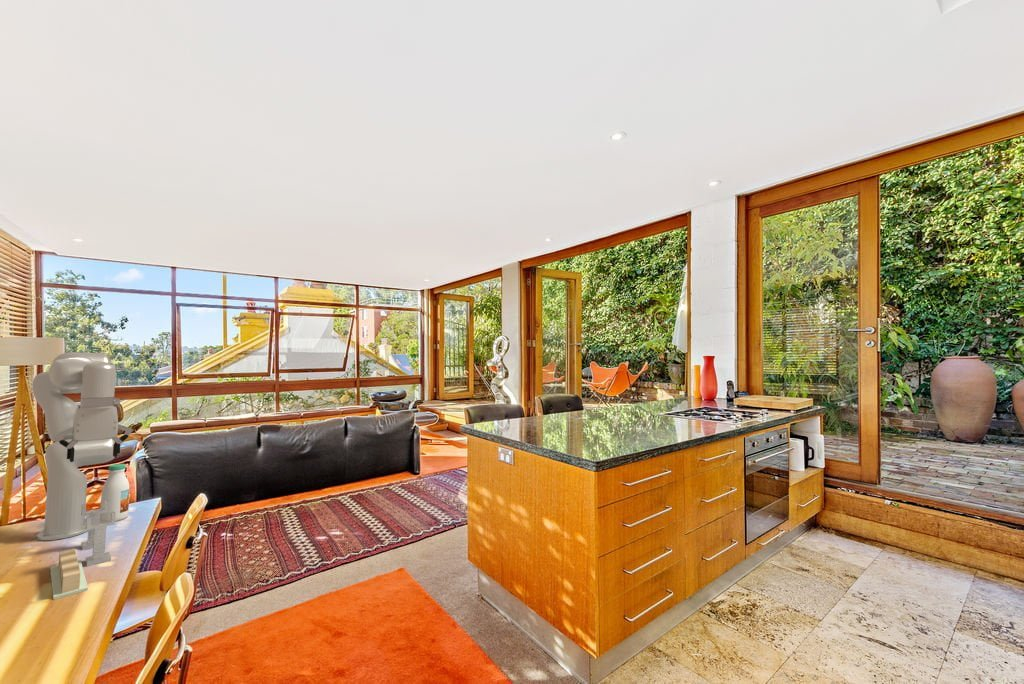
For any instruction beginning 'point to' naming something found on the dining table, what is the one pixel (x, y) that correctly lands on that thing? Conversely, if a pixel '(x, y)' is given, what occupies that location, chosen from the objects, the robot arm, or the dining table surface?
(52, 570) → the mat
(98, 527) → the post
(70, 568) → the rail
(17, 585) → the dining table surface
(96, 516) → the post
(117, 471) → the milk bottle
